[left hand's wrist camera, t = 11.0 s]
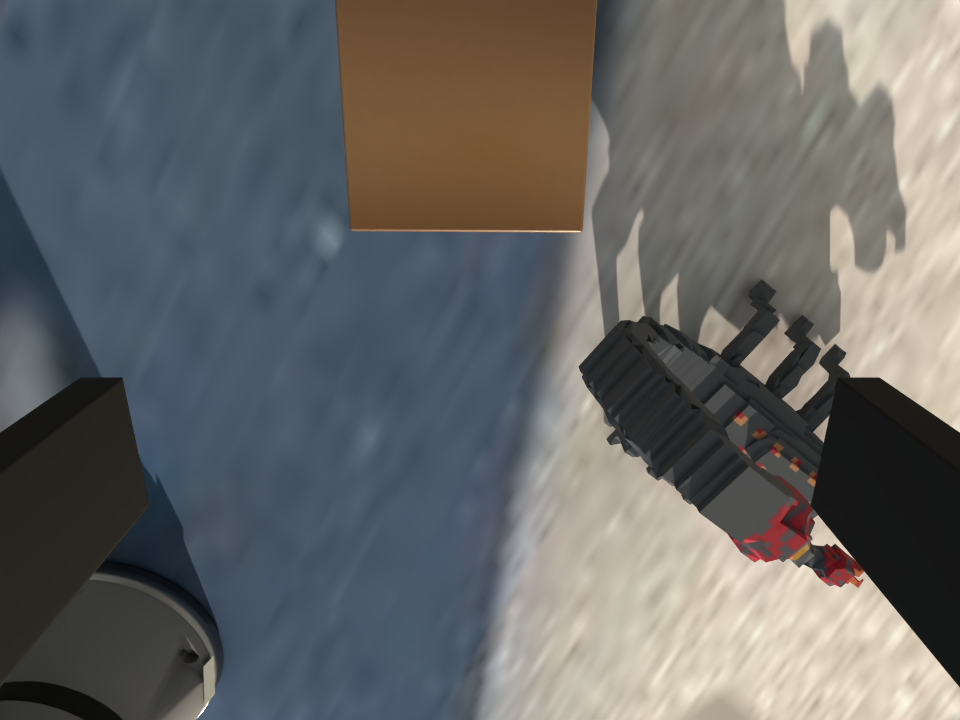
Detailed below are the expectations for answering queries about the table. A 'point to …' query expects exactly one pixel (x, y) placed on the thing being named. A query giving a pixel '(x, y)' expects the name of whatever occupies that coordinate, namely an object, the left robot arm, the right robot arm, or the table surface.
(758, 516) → the toy
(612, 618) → the table surface
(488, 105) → the bar
